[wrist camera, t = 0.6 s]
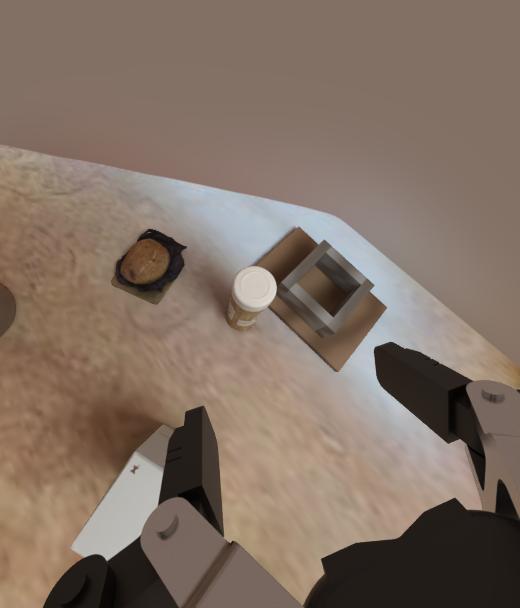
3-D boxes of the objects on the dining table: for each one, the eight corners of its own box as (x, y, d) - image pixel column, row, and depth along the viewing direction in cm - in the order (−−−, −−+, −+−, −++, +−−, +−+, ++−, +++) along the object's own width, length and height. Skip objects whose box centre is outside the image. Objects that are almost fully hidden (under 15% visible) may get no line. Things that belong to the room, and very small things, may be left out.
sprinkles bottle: (247, 336, 37) (265, 315, 25) (220, 321, 37) (224, 292, 24) (261, 310, 39) (284, 278, 26) (235, 296, 39) (246, 256, 26)
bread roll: (160, 309, 37) (154, 302, 33) (106, 283, 36) (95, 273, 33) (195, 251, 40) (194, 239, 37) (147, 227, 40) (140, 213, 36)
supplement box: (123, 480, 30) (63, 548, 18) (163, 421, 32) (134, 447, 20) (174, 515, 30) (149, 607, 18) (211, 453, 32) (210, 498, 20)
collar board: (240, 281, 40) (245, 266, 34) (296, 229, 44) (308, 209, 39) (335, 371, 38) (354, 370, 33) (383, 309, 43) (406, 299, 37)
